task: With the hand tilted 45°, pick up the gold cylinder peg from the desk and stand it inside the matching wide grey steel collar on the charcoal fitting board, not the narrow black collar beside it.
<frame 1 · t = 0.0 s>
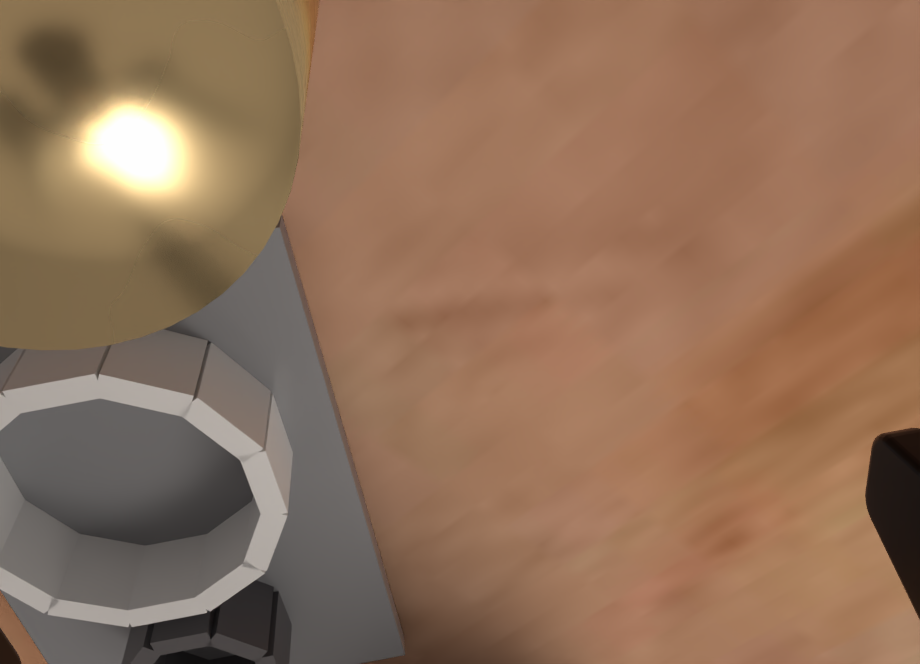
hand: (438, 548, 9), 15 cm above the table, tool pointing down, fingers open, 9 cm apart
fitting board: (168, 496, 27), on the table
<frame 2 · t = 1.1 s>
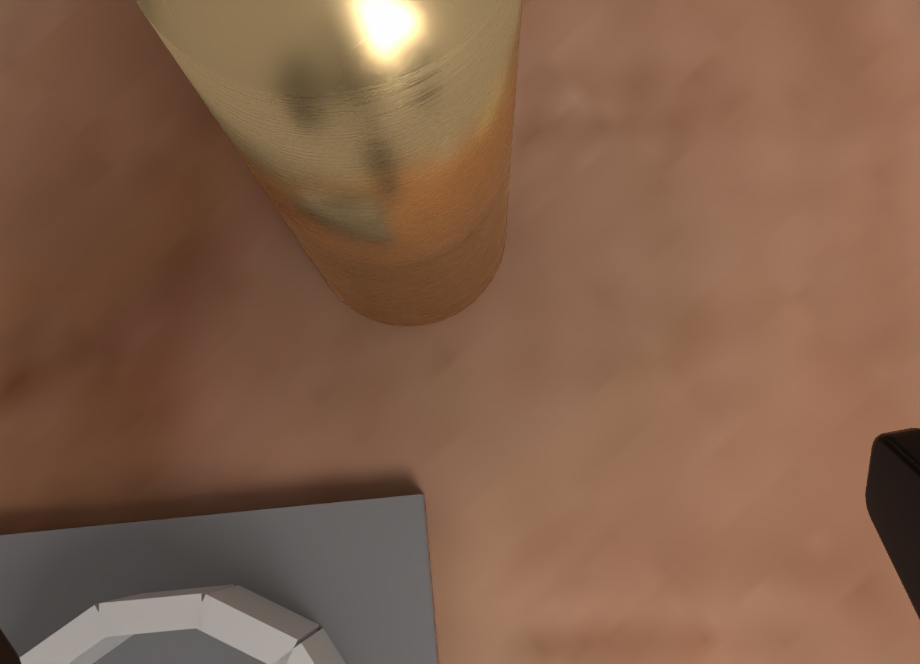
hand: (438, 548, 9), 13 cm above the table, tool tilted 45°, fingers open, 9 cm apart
gold cylinder peg: (409, 232, 24), on the table
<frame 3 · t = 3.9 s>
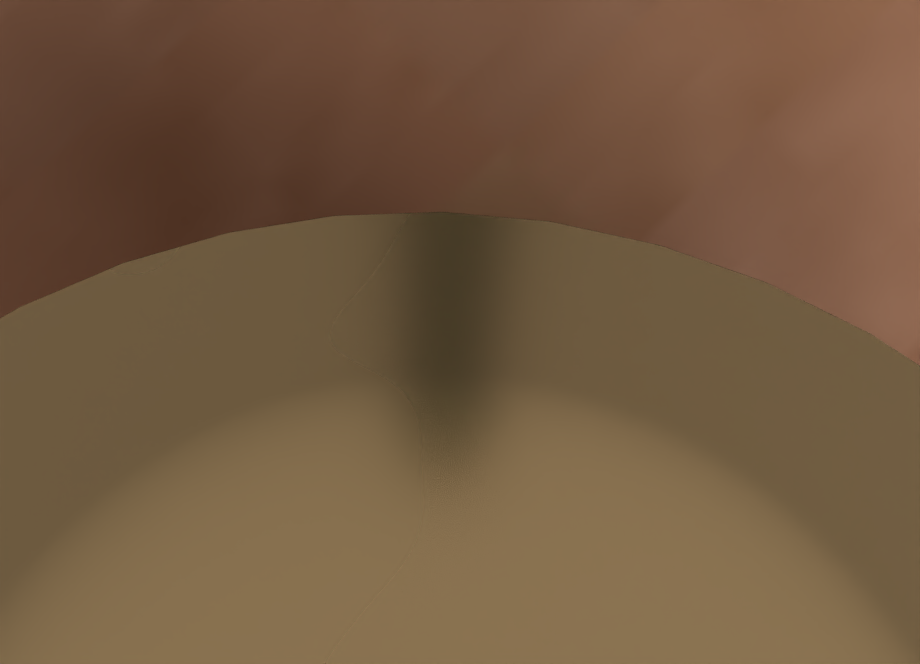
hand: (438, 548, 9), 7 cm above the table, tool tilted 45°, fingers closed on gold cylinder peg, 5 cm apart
gold cylinder peg: (473, 617, 15), on the table, touching gripper
when the fingers open (8 cm above the table, at t = 8.4 s): gold cylinder peg drops 1 cm, resting on fitting board.
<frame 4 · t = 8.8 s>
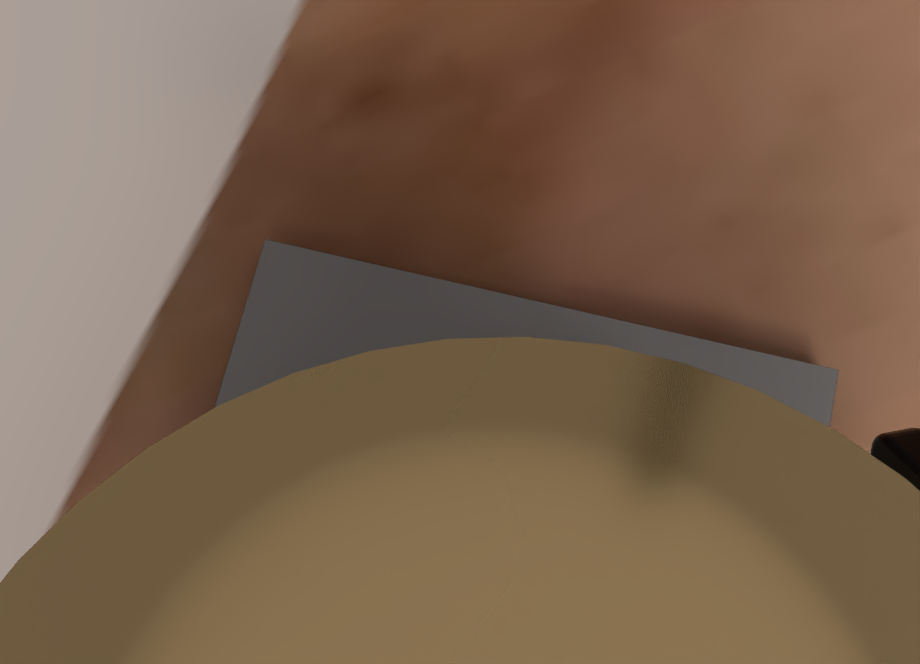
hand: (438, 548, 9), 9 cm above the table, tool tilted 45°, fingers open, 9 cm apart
gold cylinder peg: (475, 614, 16), point 1 cm above the table, touching fitting board
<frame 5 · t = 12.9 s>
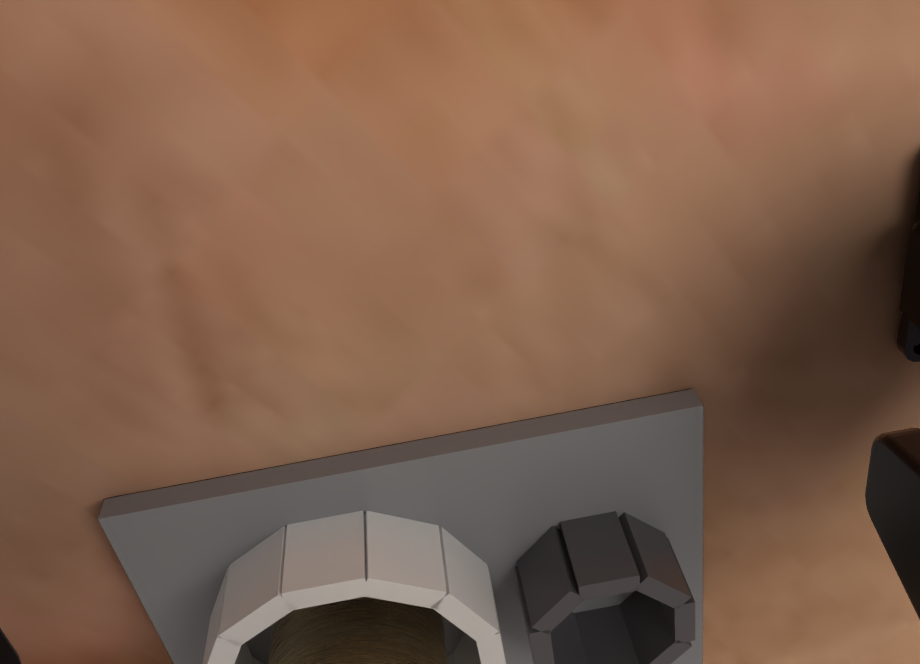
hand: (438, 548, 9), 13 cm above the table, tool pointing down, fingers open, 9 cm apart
fitting board: (434, 581, 28), on the table
gold cylinder peg: (358, 615, 27), point 1 cm above the table, touching fitting board
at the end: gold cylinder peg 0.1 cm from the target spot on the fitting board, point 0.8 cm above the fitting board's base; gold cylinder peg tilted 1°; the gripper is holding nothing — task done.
